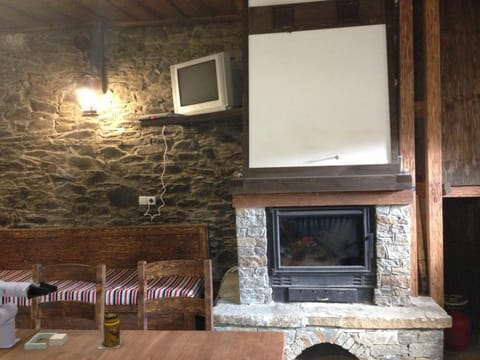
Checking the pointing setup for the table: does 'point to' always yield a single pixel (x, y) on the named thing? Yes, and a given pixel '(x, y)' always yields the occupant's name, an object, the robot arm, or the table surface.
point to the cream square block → (58, 339)
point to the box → (32, 344)
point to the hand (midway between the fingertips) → (53, 290)
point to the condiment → (111, 332)
